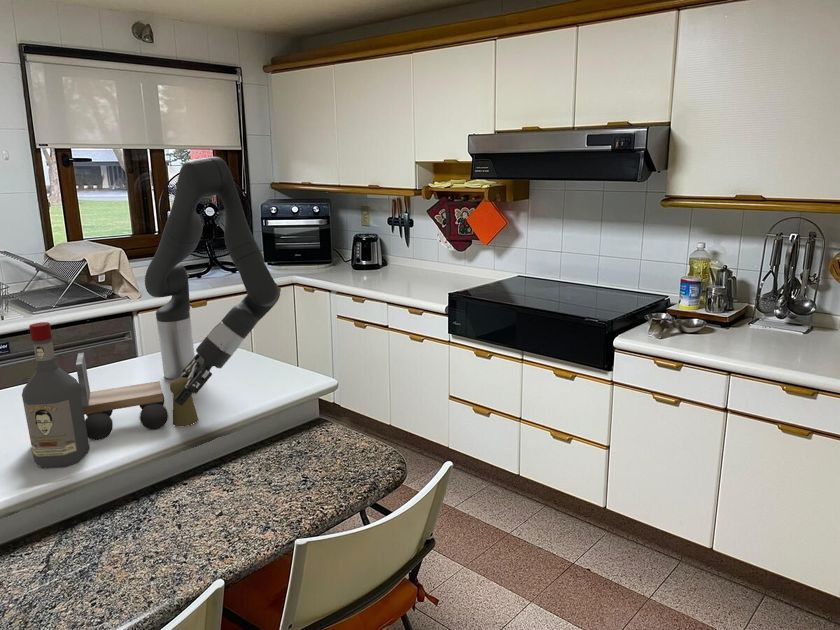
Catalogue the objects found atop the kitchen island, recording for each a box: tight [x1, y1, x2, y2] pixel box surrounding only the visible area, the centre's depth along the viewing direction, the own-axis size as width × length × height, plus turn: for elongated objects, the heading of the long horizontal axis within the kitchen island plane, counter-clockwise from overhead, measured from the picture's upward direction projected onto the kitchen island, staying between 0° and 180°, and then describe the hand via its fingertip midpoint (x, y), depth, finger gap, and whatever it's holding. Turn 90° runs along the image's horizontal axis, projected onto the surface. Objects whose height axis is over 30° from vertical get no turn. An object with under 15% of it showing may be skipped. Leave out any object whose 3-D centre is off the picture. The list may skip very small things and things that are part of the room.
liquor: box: [21, 321, 91, 469], centre depth 135 cm, size 9×9×30 cm
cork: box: [169, 377, 199, 427], centre depth 155 cm, size 6×6×11 cm
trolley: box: [75, 352, 169, 441], centre depth 154 cm, size 14×18×18 cm
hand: (176, 397), depth 154 cm, fingers open, 8 cm apart
